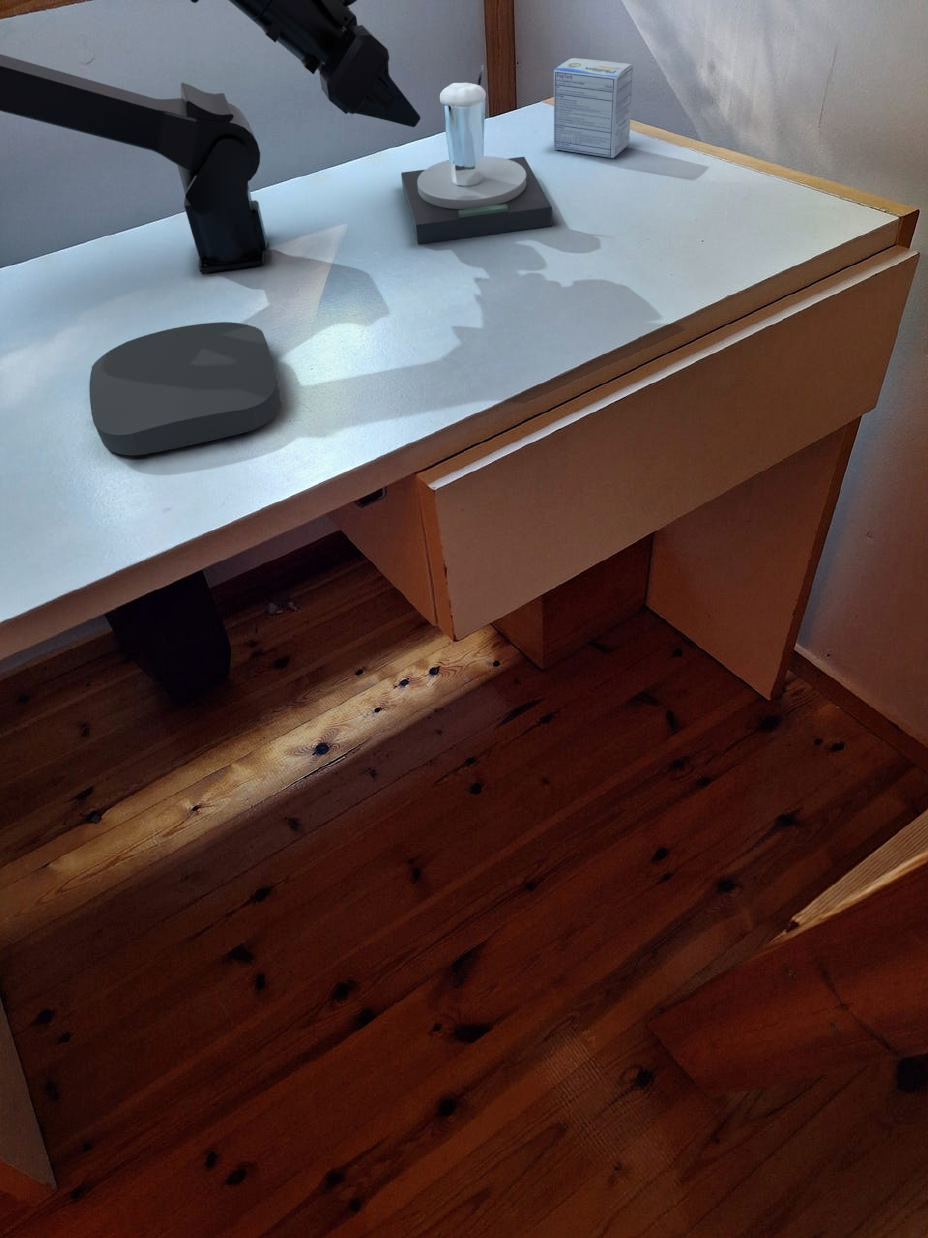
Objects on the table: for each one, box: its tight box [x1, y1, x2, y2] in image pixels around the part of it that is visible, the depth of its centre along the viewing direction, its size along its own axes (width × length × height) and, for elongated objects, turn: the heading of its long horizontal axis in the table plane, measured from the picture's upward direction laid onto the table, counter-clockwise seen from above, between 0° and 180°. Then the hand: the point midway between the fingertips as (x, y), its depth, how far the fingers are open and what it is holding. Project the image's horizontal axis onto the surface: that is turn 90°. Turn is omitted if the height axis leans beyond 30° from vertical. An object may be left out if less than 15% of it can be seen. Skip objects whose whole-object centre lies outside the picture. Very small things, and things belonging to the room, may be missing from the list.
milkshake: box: [439, 64, 487, 186], centre depth 92 cm, size 4×5×10 cm
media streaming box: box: [88, 321, 282, 456], centre depth 74 cm, size 15×15×3 cm
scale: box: [400, 155, 553, 245], centre depth 96 cm, size 14×14×3 cm
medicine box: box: [553, 57, 634, 159], centre depth 103 cm, size 8×4×9 cm, turn 57°
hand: (404, 107), depth 88 cm, fingers open, 9 cm apart
